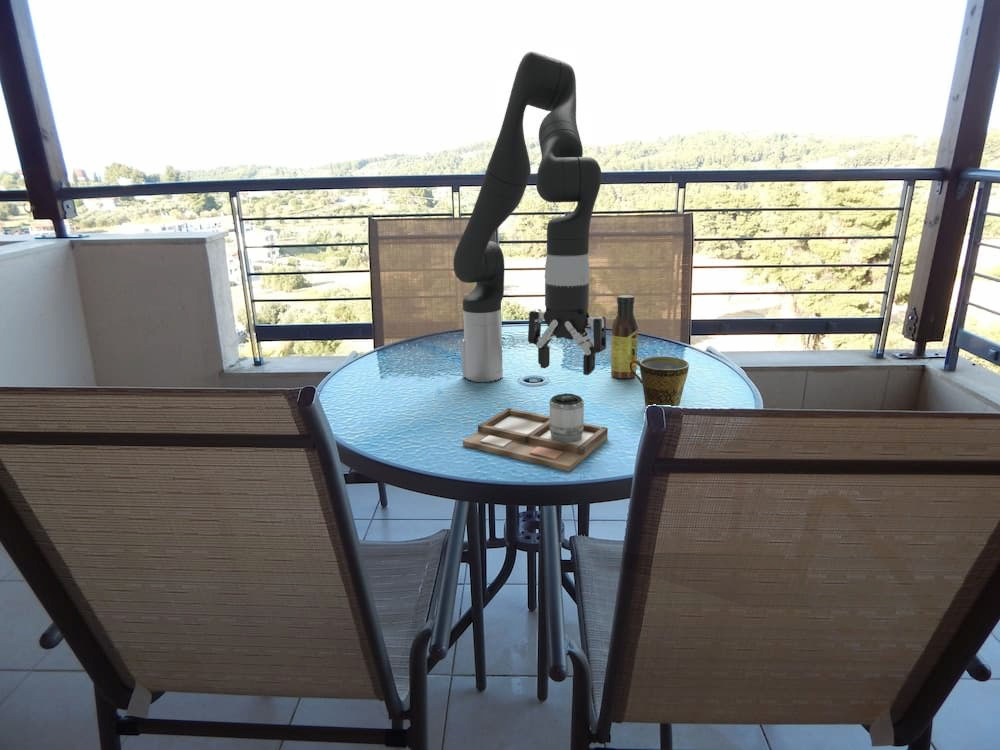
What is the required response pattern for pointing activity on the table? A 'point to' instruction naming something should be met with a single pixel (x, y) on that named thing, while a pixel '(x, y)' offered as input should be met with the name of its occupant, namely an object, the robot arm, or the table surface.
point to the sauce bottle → (624, 339)
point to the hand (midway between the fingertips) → (565, 370)
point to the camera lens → (566, 417)
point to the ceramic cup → (662, 379)
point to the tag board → (533, 440)
